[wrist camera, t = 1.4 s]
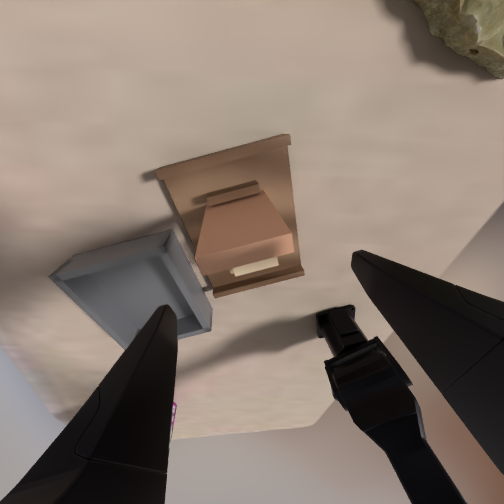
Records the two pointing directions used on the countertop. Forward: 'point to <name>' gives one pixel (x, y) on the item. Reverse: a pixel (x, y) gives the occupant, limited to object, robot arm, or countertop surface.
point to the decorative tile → (469, 29)
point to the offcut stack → (254, 266)
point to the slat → (241, 234)
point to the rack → (233, 187)
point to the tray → (136, 286)
